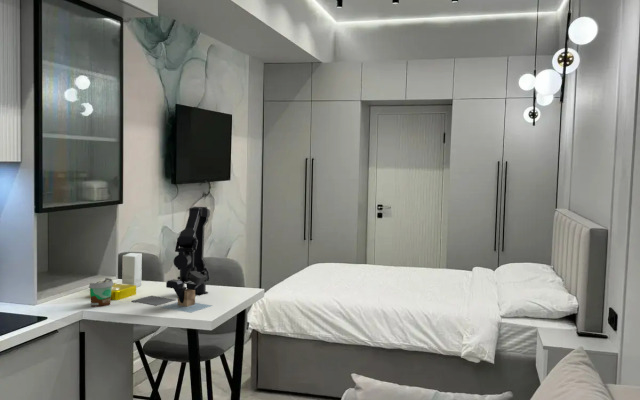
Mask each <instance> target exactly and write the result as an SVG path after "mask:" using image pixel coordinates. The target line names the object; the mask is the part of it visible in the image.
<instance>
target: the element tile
mask: <svg viewBox="0 0 640 400" xmlns="http://www.w3.org/2000/svg"><path fill="white" fill-rule="evenodd" d="M135 295H137V287H136V285H129V284H122V283H118V282H117V283H116V282H113V286H112V289H111V301H121V300H124V299H127V298H130V297H133V296H135ZM89 298H90V299H91V296H90V295H89Z"/></svg>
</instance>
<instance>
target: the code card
mask: <svg viewBox="0 0 640 400" xmlns="http://www.w3.org/2000/svg"><path fill="white" fill-rule="evenodd" d="M210 307H213V305H211V304H205V303H200V302H195V304H194V305H191V306H188V307H186V306H180V305H178V301H177V302H174V303H169V304H166V305H163V306H161V308H162V309H167V310H172V311H178V312H185V313H194V312H198V311H200V310H204V309H206V308H210Z"/></svg>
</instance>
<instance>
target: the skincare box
mask: <svg viewBox="0 0 640 400" xmlns="http://www.w3.org/2000/svg"><path fill="white" fill-rule="evenodd" d="M142 258H143V254H142V252H141V253H140V252H139V253H138V252H129V253H126V254H123V255H122V261H121V263H122V270H121V272H122V274H121V275H122V277H121V284H129V285H136V288H138V287H140V286H142V274H143V273H142V272H143V271H142V269H143V268H142V266H143V264H142V263H143V262H142V261H143V260H142Z"/></svg>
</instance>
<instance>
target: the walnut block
mask: <svg viewBox="0 0 640 400" xmlns="http://www.w3.org/2000/svg"><path fill="white" fill-rule="evenodd" d="M177 302H178V305H180V306H186V307H188V306H191V305H194V304H195V303H196V295H195V290H190V289H187V288H186V290H185V291H184V302H183V303H181V302H180V300H179V298H178V297H177Z"/></svg>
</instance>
